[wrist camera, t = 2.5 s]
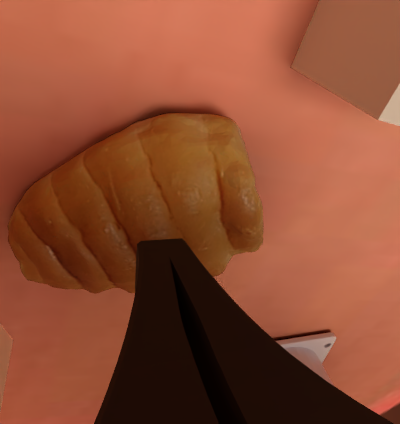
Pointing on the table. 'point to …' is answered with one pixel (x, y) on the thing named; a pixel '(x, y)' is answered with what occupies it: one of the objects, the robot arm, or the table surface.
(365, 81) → the marked block grey
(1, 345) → the marked block cream
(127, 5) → the table surface
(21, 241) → the pastry
